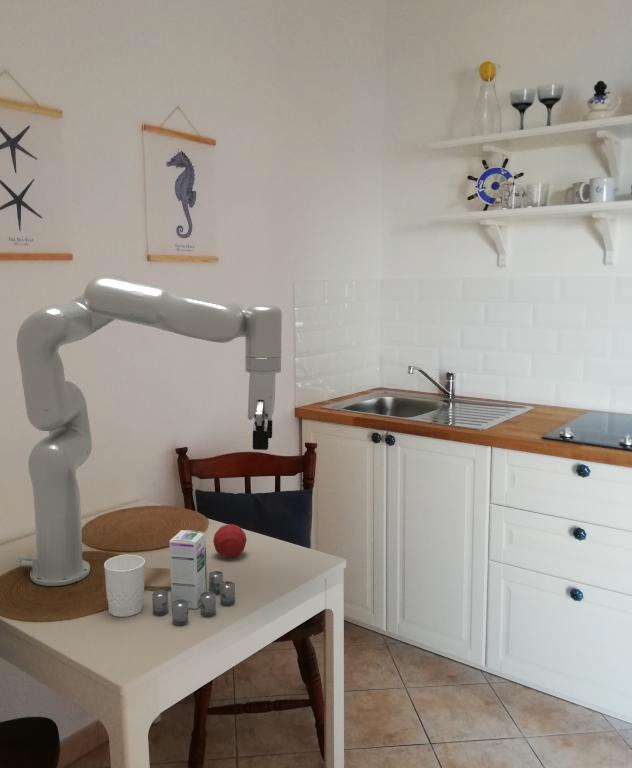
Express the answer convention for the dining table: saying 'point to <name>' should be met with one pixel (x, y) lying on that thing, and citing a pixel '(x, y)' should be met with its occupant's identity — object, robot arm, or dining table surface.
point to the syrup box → (188, 567)
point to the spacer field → (206, 600)
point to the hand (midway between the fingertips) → (262, 443)
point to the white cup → (125, 584)
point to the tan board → (157, 579)
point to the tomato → (229, 540)
